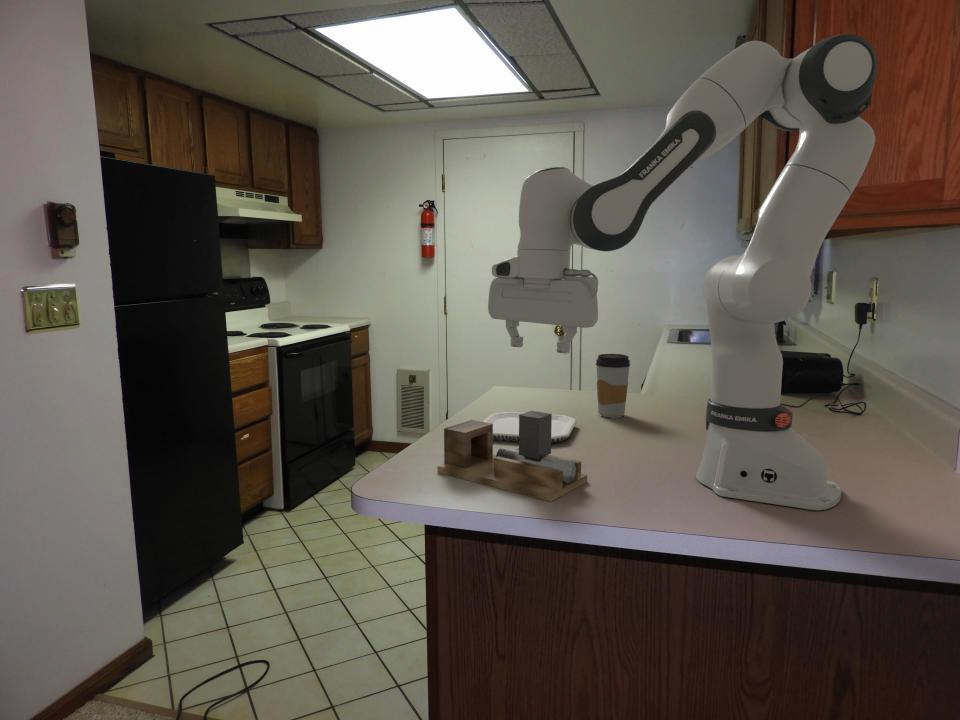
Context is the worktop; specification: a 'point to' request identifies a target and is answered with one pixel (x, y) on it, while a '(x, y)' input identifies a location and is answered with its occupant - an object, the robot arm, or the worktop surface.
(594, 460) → the worktop surface
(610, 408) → the coffee cup
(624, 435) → the worktop surface
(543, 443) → the grey mallet
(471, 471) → the cradle
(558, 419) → the plate
